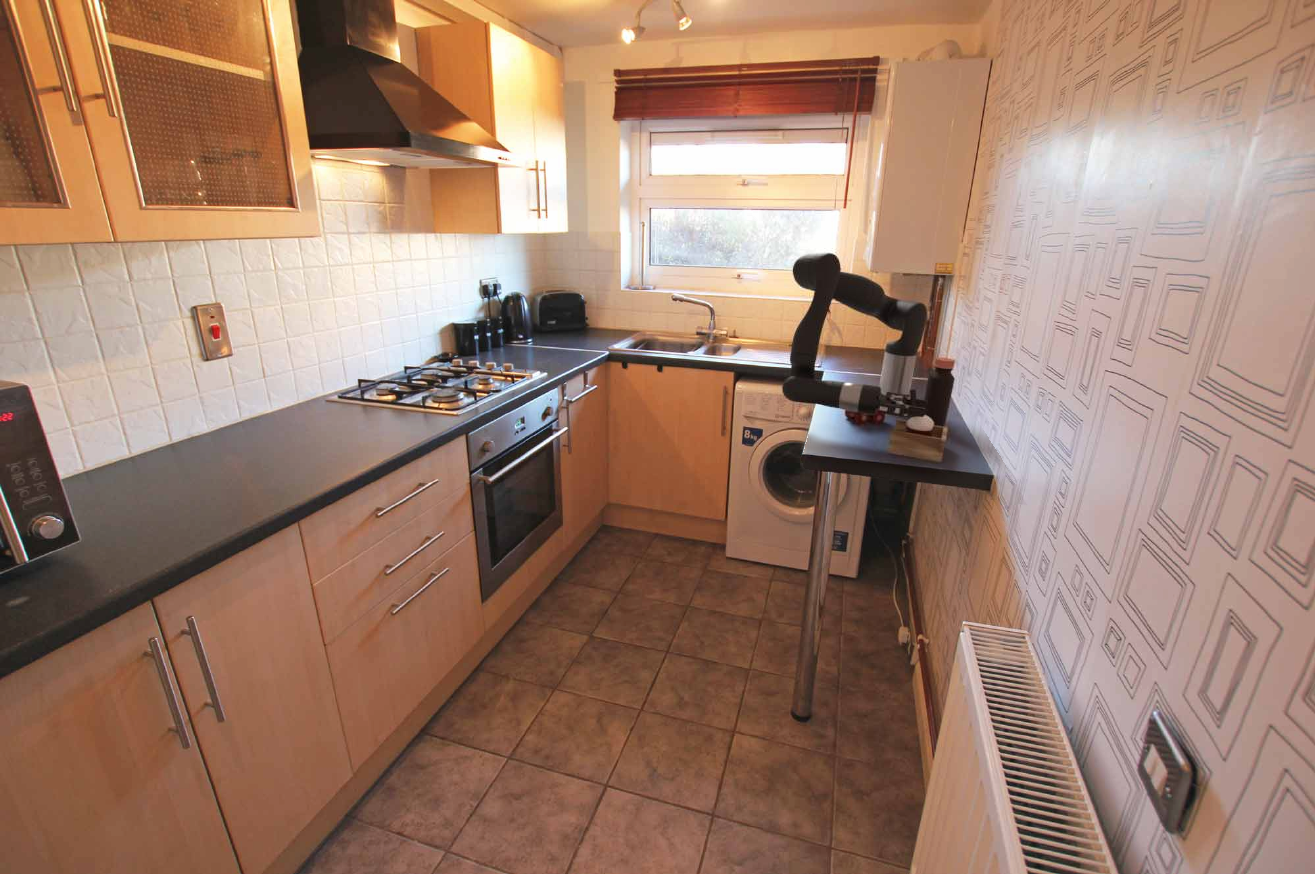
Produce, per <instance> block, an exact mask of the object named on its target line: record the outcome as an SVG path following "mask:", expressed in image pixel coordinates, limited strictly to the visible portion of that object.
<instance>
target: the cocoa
mask: <svg viewBox="0 0 1315 874" xmlns="http://www.w3.org/2000/svg"><path fill="white" fill-rule="evenodd" d="M909 395H910V397H911V406H915V407H917V402H916V399H917V392H916V388H915V389H913V388H912V389H911V388H910V392H909ZM906 421H907V423H906V432H907V433H913V434H919V435H925V436H930V437H932V430H933V429H932V428H933V426H934V422H933V420H932V419H931V418H930V417H928V416H926V415H924V417H918V416H912V415H911V417H910V418H908V420H906Z"/></svg>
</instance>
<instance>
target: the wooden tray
mask: <svg viewBox="0 0 1315 874" xmlns="http://www.w3.org/2000/svg"><path fill="white" fill-rule="evenodd" d="M907 421H908V420H905V419H899V418H897V419H896V421H895V425H894V426H895V427H894V429H892V430H891V432H890V438H889V443H888V448H887V452H886V453H888V454H894V455H898V456H903V455H904V456H903V457H908V456H909V458H913V457H914V459H919V460H924V461H931V462H935V463H942V460H943V456H944V451H945V446H946V441H947V436H948V428H949V426H947V425H945V426H944V427H942V426H936V425H934V426H933V428H932V429H933V430H932V437H930V436H925V435H919V434H913V433H907V432H906V423H907Z"/></svg>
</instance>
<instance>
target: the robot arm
mask: <svg viewBox="0 0 1315 874" xmlns="http://www.w3.org/2000/svg"><path fill="white" fill-rule="evenodd" d="M792 276H793V279H794V281H795V283H797V285H798V286H800V287H801V288H803V289H805V290H808V291H813V297H812V300H811V303H810V305H809V307H808V310H807V311H806V313H805V314H804V316H803V318H802V319H801V321H800V322H799V324H798V325H797V327H796V329H795V332H794V335H793V338H792V341H791V342H792V344H791V350H790V355H789V362H790V364H791V365H790V366H791V367H790V372H789V374H790V375H789V377H787V378H786V379H785V380H784V382H783V383H782V386H781V387H782V388H781V390H782V394H783V396H784V397H785V398H786V399H787V400H789V401H790V402H793V403H801V404H813V405H821V406H823V407H828V408H834V409H841V410H844V411H845V410H847V411H852V412H858V413H864V414H870V415H875V414H876V413H877V410H878V409H879V413H883V414H885V415H889V416H890V415H891V416H894V417H899V418H904V417H905V416H911V417H912V416H917V417H924V414H925V409H926V408H927V403H928V401H927V400H924V399H922V398H916V402H917V407H915V406H911V396H910V390H911V385H912V382H913V381H912V380H913V375H914V370H915V365H916V359H917V354H918V351H919V348H920V346H921V344H922V341H923V336H924V332H925V327H926V324H927V320H928V319H927V318H928V310H927V309H928V308H927V306H926V305H925V304H924V303H923V302H919V301H915V300H914V301H913V300H907V299H901V298H900V299H899V298H895V297H891V296H889V295H887V294H886V293H885V291H884V288H883V287H882V286H881V285H880V284H879V283H877V282H875V281H873V280H872V279H870V278H868V277H865V276H863V275H859V274H855V273H851V272H846V271H841V262H840V259H839V258H838V256H837V255H836V254H834V253H833V252H819V253H818V252H817V253H815V252H814V253H807V254H804V255H801V256H800V257H798V258H797V260H795V262H794V263H793V266H792ZM833 300H834V301H836V302H838V303H840V304H842V305H844V306H846V307H847V308H849V309H851V310H854V311H855V312H858V313H860V314H863V315H866V316H868V317H873V318H875V319H877V320H878V321H879V322H881V323H882V324H884V325H885V326H886V327H888V328H890V329H892V330H895V331H900V332H902V333H901V335H900V338H899V339H897V340H892V341H889V342H887V343H886V345H885V350H884V354H883V355H884V356H883V362H882V368H881V372H880V373H881V374H880V379H879V385H878V386H877V385H871V384H865V383H864V384H863V383H857V382H843V381H836V380H827V379H826V380H825V379H824V380H821V379H817V378H815V375H816V374H815V371H816V369H815V367H816V362H817V358H818V357H817V356H818V352H819V347H820V341H821V336H822V332H823V328H824V325H825V321H826V318H827V315H828V314H829V310H830V307H831V305H832V301H833ZM881 393H882V394H883V395H881Z"/></svg>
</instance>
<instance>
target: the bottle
mask: <svg viewBox="0 0 1315 874" xmlns="http://www.w3.org/2000/svg"><path fill="white" fill-rule="evenodd" d="M955 362H956V360H955V359H953V358H947V357H936V358H935V361H934V371H932V372H930V374H929V375H928V377H927V383H926V387H925V393H924V397H923V400H927V401H928V403H927V408H926V409H925V414H924V415H926V416H928V417H930V418H931V419H932V420H933V422H934V425H936V426H942V427H944V426H946V422H947V417H948V412H949V409H950V402H951V398H952V393H953V390H954V385H955V380H956V379H955V377H954V375H953V374H952V371H953V370H954V367H955Z"/></svg>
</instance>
